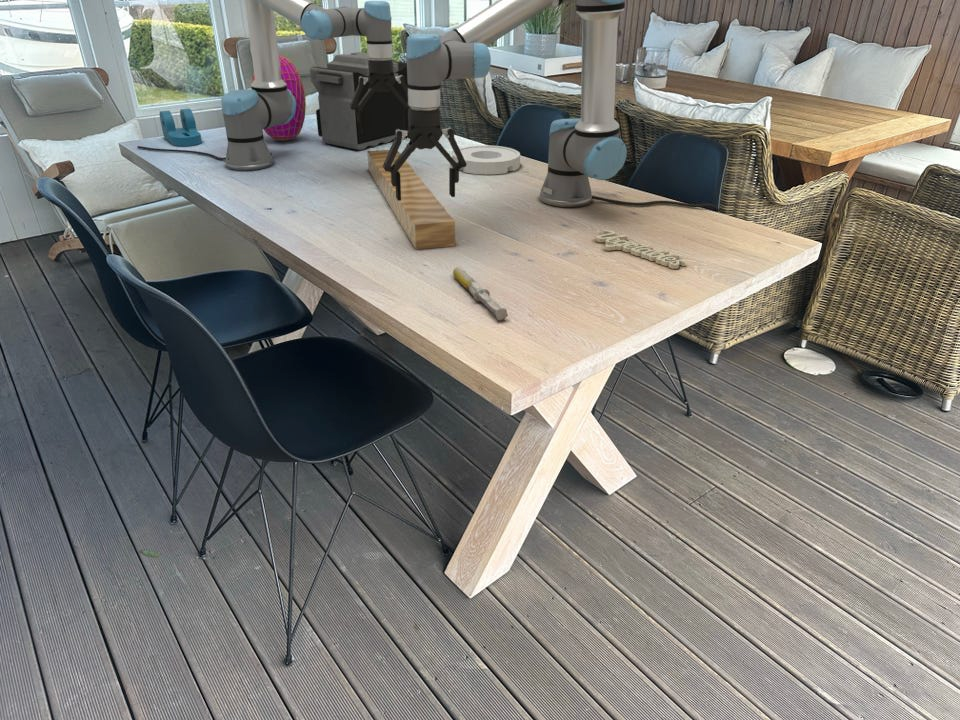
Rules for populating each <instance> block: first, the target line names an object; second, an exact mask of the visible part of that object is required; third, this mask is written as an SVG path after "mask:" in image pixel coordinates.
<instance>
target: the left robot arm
mask: <svg viewBox="0 0 960 720" xmlns="http://www.w3.org/2000/svg"><path fill="white" fill-rule="evenodd" d="M244 7H245V14H246V21H247V29H248V36H249V44H250V52H251V58H252V59H251V60H252V68H253V72H254V75H255V80H254V81H253V83H252V82H251V84H250V88H241V89H235V90H231V91H228V92H226V93H224V94H223V95H222V97H221V100H220V102H221V113H222V117H223V123H224V127H225V134H226V139H227V147H226V153H225V157H221V156H217V155H214V154H212V153H209V152H204V151H196V150H187V149H174V148H173V149H171V148H153V147H147V146H142V145H137V148H138V149H142V150H147V151H156V152H176V153H188V154H189V153H190V154H198V155H204V156H208V157H211V158H214V159H216V160H220V161H225V167H226V168H227V169H229V170H234V171H257V170H261V169H267V168H269V167H271V166H272V165H274V161H273V153H272V152H270V150H269V148H268V146H267V144H266V142H265V137H264V136H265V135H264V130H263V129H265V128H269V127H273V126H280V125H283V124H284V123H287V122H289V121H290V120H291V119H292V118H293V117H294V115H295V112H296V101H295V98H294V96H293V95H292V93H291V91H290V90H288V89H287V84H286V83H285V82H284V81H283V80H282V79H281V71H280V62H279V55H280V53H279V45H278V37H277V36H278V35H277V29H276V19H275V18H276V17H275V13H277V14H278V15H280V16H282V17H284V18H285V19H287V20H288V21H290V22H292V23H293V24H296V25H297V26H299V27H300V28H301V30H302V32H303V33H304V35H305V36H306V37H307V38H308V39H309V40H314V41H317V40H318V41H324V40H326V39H327V40H328V39H335V38H342V37H351V36H354V37H355V36H356V37H366V47H367V49H366V51H367V52H366V53H368V58H370V60H369V61H368V68H369V76H368V78H366V77H362V76H360V77H359V82H358V86H357V89H356V92H355V94H354V97H353V99H352V102H351V104H350V108H351V109H352V110H355V111H356V113H357V121H358V122H361V132H362V134H365V126H364V112H363V111H362V108H363V107H364V106H365V104H366V103H367V101H368V100H369V98H370V97H371V96H372V94H373V93H374V92H375V91H376V92H388V91H390V90H391V91H392V92H393V93H394V95H395V96H396V97H397V98H398V99H399V100H400V102H401V103H402V104H403V105H404V106H405V107H406V109H405V108H403V121H404V130H405V131H407V130H408V121H407V120H408V109H409V108H410V106H409V105H408V103H407V102H406V101H405V100H404V99H403V98H402V96H401V95H400V94H399V93H398V92H397V91H396V89H395V88H394V87H393V85H394V83H395V81H397V82H398V83H399V84H401V86H402V88H403V90H404V92H405V94H406V96H407V98H408V88H407V86H406V84H405V78H404V76H402V75H400V76H396V77H395V76H394V68H393V61H394V60H393V58H394V53H393V52H394V51H393V39H392V38H393V37H392V20H393V19H392V12H391V6H390V3H389V2H388V1H385V0H367V1H365V2H364V7H349V6H345V5H343V6H337V7H333V8H324V7H322V6H320V5H318V4H316V3H315V2H313V1H311V0H244ZM366 82H369V84H370V85H371V86H370V88H369V89H368V91H367V93H366V94H365V95H364V97H363V98H362V100H361V101H360V103H359V104H358V105H357V106H356V104H357V102H358V99H359V97H360V94H361V92H362V89H363V85H365V84H366Z"/></svg>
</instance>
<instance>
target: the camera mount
mask: <svg viewBox="0 0 960 720" xmlns="http://www.w3.org/2000/svg"><path fill="white" fill-rule="evenodd" d="M179 115H180V122H181V127H176V123H175V120H174V117H173V114H172V112H171V111H170V110H160V111H159V121H160V126H161V130H162V135H163V139H165V140H166V141H167V142H168V143H170V144H171V145H173V146H176V147H192V146H197V145H200V144H202V143H203V140H202V135H201V132H199V131H198V128H197V123H196V119H195V115H194V113H193V111H192V109H191V108H181V109H180V110H179Z"/></svg>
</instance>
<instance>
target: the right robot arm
mask: <svg viewBox="0 0 960 720" xmlns="http://www.w3.org/2000/svg"><path fill="white" fill-rule="evenodd" d="M571 1H572V0H497V1H495V2H494V3H492V4H490V5H489V6H487V7H486V8H484V9H482V10H481V11H479V12H478V13H476V14H475V15H473V16H472V17H470V18H468V19H467V20H465V21H463V22H462V23H461V24H459V25H458V26H456V27H454V28H453V29H451V30H450V31H447V32H446V33H445V34H443V35H439V34H435V33H412V34H410V35H408V37H407V38H406V54H405V59H406V63H407V78H408V105H409V106H410V108H409V109H408V124H409V127H408V130H407V131H403V130H399V129H396V130H395V139H393V140H392V144H391V145H390V148H389V149H388V150H389V153H388V155H387V157H386V159H385V162H384V164H383V168H384V170H385V171H389V172H391V183H392V185H393V186H396V198H397V200H398V201H401V182H400V173H399V171H398V170H399V169H400V168H401V166H402V165H403V164H404V162H405V161H407V160H408V158H409V157H410V156H411V155H412V153H413V152H415V151H416V149H418V150H424V149H428V150H432V149H434V148H436V149H437V150H438V151H439V153H440V154H441V155H442V156H443V157H444V159H445V160H446V161H447V162H448V163H449V164H450V166H451V167H449V169H448V171H449V173H448V174H449V175H448V176H449V177H448V178H449V180H448V182H449V183H448V185H449V186H448V187H449V190H448V191H449V192H448V193H449V196H451V198H455V197H456V184H458V183H459V181H460V171H461V170H460V168H462V167H466V165H467V164H466V162H465V160H464V157H463V155H462V153H461V151H460V149H459V148H460V147H459V145H458V142H457V140H456V139H455V131H454V128H451V126H447V127H446V128H442V127H441V109H440V108H439V107H440V106H441V80H462V79H463V80H464V79H465V80H467V79H468V80H469V79H471V80H475V79H482V78H483V79H484V78H486V77H487V75H489V72H490V69H491V63H492V62H491V61H492V59H491V53H490V49H489V47H488V46H490V45H491V44H493V43H494V42H496V41H497V40H499V39H501V38H502V37H504V36H505V35H507V34H509V33H510V32H512V31H514V29H515V30H516V28H518V27H519V26H521V25H523V24H524V23H526V22H528V21H529V20H530V19H532V18H534V17H536V16H537V15H538V14H540V13H542V12H543V11H545V10H547V9H548V8H551V9H556V8H558V7H559V6H560V5H563V4H564V3H567V2H571ZM625 7H626V0H575V12H576V14H577V15H578V16H579V17H580V19H581V75H580V76H581V81H580V83H581V84H580V85H581V86H580V117H579V118H562V119H554V120H553V121H552V122H551V124H550V127H549V128H550V129H549V134H548V136H549V141H548V142H549V143H548V156H547V157H548V159H547V173H546V176H545V178H544V181H543V184H542V187H541V189H540V192H539V200H540V202H542V203H543V204H546V205H549V206H553V207H558V208H559V207H560V208H580V207H584V206H588V205H589V204H591V203H592V199H593V200H596V201H601V202H606V203H611V204H617V205H623V206H635V207H645V206H650V205H662V204H663V205H674V206H681V207H687V208H706V207H707V208H712V209H713V210H715V212H721V210H720V207H718V206H717V205H716V204H712V203H695V204H694V203H687V202H681V201H673V200H652V201H643V202H635V201H633V202H632V201H623V200H616V199H612V198H611V199H610V198H606V197H601V196H596V195H593V193H592V188H591V184H590V179H594V180H598V181H605V180H609V179H611V178H613V177H615V176H616V175H617V174H618V172H619V171H620V170H622V168H623V167H624V165H625V162H626V159H627V154H628V151H627V150H628V149H627V146H626V143H624V141H623V139H621V138H620V123H618V121H617V120H616V119H615V101H616V99H615V98H616V78H617V77H616V75H617V53H618V51H617V50H618V28H619V27H618V26H619V25H618V24H619V17H620V16H621V14H622V13H623V12H624V11H625V9H626V8H625ZM406 136H408V137H406ZM443 136H444V138H446V139H447V140H448V142H449V145H450V147H451V149H452V152H454V153H455V155H456V157H457V159H458V161H459V162H457V163H456V162H455V161H454V160H453V158H452V155H450V154H449V152H448V151H447V149H445V148H444V146H443V145H442V144H441V142H440V139H441V138H442V137H443ZM405 138H408V139H409V142H408V143H407V144H406V146H405V147H404V149H403V150H402V152H400V156H399V157H398V158H397V160H396V161H395V162H394V163H393V160H394V158H395V156H396V154H397V151H398V152H399V150H400V147H401V145H402V141H404V140H405ZM392 163H393V165H392ZM391 165H392V166H391Z"/></svg>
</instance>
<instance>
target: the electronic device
mask: <svg viewBox="0 0 960 720" xmlns="http://www.w3.org/2000/svg"><path fill="white" fill-rule="evenodd" d="M369 60H370V58H368V52H362V51H356V52H351V53H348V54H345V53H341V54H335V55H334V56H333V59H332V60H331V61H329V62H327V63H326V66H327V67H320V66H310V67H309V74H310V82H311V83H312V85H313V86H314V88H315V90H316V91H317V93H318V95H317V98H318V99H317V100H318V109H316V110H315V116H316V125H317V135H318V137H321V138H322V142H323V143H324V144H328V145H334V146H337V147H342V148H348V149H352V150H357V151H362V150H365V149H366V148H367V147H370V148H371V147H373V148H374V147H377V146H378V145H379V144H389V143H391V142H392V141H394V139H395V130H396V129H399V130H403V131H405V130H404V121H403V108H405V109H406V107H405V106H404V105H403V104H402V103H401V102H400V100H399V99H398V98H397V97H396V96H395V95H394V93H393V92H392V91H391V90H390V91H388V92H376V91H375V92H374V93H373V94H372V96H371V97H370V98H369V100H368V101H367V103H366V104H365V106H364V107H363V108H362V111H363V112H364V126H365V134H362V132H361V122H358V121H357V113H356V111H355V110H352V109H351V108H350V104H351V102H352V99H353V97H354V94H355V92H356V89H357V86H358V82H359V77H360V76H362V77H366V78H368V76H369V68H368V61H369ZM392 61H393V68H394V76H395V77H396V76H400V75H402V76H404V78H405V84H406V86H407V88H408V78H407V62H405V61H404V62H403V61H395V60H392ZM370 86H371V85H370V84H369V82H366V84H365V85H363V89H362V92H361V94H360V97H359V99H358V102H357V104H356V106H357V105H358V104H359V103H360V101H361V100H362V98H363V97H364V95H365V94H366V93H367V91H368V89H369V88H370ZM393 87H394V88H395V89H396V91H397V92H398V93H399V94H400V95H401V96H402V98H403V99H404V100H405V101H406V102H407V103H408V98H407V96H406V94H405V92H404V90H403V88H402V86H401V84H399V83H398V82H397V81H395V83H394V85H393ZM407 121H408V120H407ZM408 127H409V124H408ZM405 138H408V136H406V137H405Z"/></svg>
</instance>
